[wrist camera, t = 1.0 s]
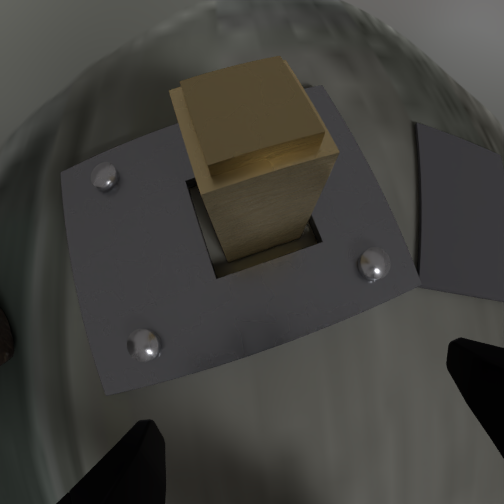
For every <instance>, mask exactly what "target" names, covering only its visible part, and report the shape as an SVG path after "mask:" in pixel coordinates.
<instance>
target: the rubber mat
mask: <svg viewBox="0 0 504 504" xmlns="http://www.w3.org/2000/svg"><path fill="white" fill-rule="evenodd" d="M415 129H416V141H417V154H418V172H419V249H418V268H417V273H418V276H419V278H420V281H421V284H422V285H420V286H418V287H420V288H425V289H431V290H437V291H443V292H448V293H454V294H460V295H466V296H472V297H478V298H484V299H490V300H495V301H501V302H504V170H503V164H502V159H501V155H499V154H497V153H494V152H492V151H490V150H488V149H485V148H483V147H481V146H478V145H476V144H474V143H471V142H469V141H466V140H464V139H461V138H459V137H456V136H454V135H451V134H448V133H446V132H443V131H440V130H437V129H434V128H432V127H429V126H426V125H423V124H420V123H416V124H415Z"/></svg>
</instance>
